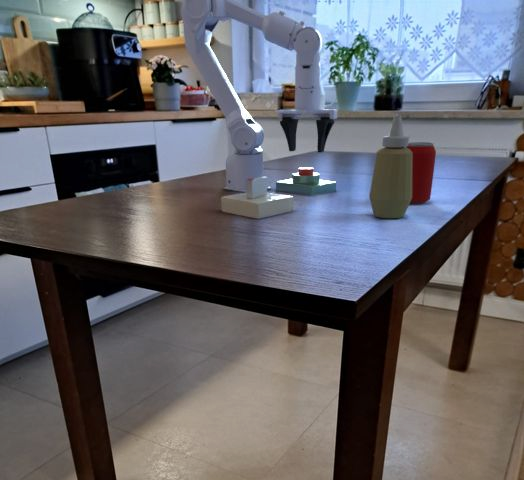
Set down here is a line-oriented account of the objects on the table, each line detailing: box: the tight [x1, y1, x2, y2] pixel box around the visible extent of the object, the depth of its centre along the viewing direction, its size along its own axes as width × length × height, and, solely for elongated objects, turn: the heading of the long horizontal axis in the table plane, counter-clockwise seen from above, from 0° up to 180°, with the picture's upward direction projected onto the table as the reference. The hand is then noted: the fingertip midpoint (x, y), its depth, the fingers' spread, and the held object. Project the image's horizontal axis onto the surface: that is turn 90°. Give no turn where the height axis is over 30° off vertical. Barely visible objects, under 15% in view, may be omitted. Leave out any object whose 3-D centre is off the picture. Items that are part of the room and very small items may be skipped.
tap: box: [245, 176, 268, 199], centre depth 105 cm, size 6×2×4 cm, turn 149°
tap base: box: [220, 191, 294, 220], centre depth 106 cm, size 11×10×3 cm
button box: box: [275, 172, 337, 197], centre depth 128 cm, size 12×9×4 cm
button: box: [298, 166, 314, 175], centre depth 127 cm, size 4×4×2 cm
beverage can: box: [405, 141, 437, 205], centre depth 111 cm, size 7×7×12 cm
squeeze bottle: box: [368, 114, 413, 219], centre depth 97 cm, size 8×8×18 cm
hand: (306, 151), depth 125 cm, fingers open, 7 cm apart
